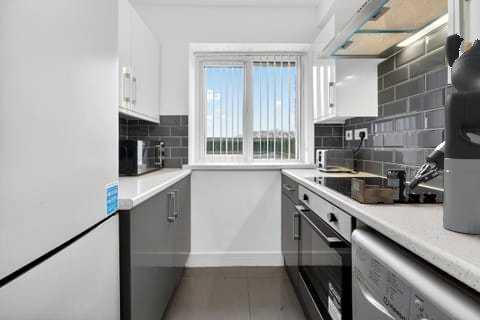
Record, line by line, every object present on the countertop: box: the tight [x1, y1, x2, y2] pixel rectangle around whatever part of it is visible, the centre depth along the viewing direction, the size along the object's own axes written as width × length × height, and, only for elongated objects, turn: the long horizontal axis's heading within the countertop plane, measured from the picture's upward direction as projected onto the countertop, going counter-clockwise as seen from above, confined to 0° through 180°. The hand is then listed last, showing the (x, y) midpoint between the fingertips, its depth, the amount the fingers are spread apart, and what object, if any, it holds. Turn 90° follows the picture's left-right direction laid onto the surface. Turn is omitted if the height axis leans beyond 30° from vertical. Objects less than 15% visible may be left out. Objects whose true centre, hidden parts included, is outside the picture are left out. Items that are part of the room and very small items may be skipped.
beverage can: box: [386, 168, 407, 202], centre depth 116 cm, size 7×7×12 cm
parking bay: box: [350, 177, 394, 204], centre depth 116 cm, size 11×12×8 cm
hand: (409, 188), depth 116 cm, fingers closed
